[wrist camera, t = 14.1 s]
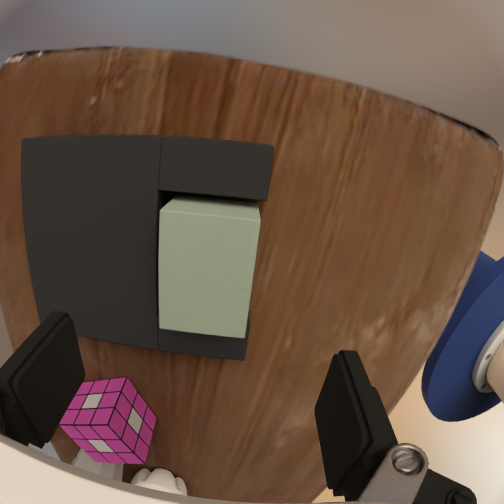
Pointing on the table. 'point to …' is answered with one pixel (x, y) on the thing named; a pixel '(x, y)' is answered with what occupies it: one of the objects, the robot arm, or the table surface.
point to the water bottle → (160, 481)
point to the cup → (98, 466)
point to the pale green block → (207, 264)
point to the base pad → (123, 227)
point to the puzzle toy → (110, 421)
